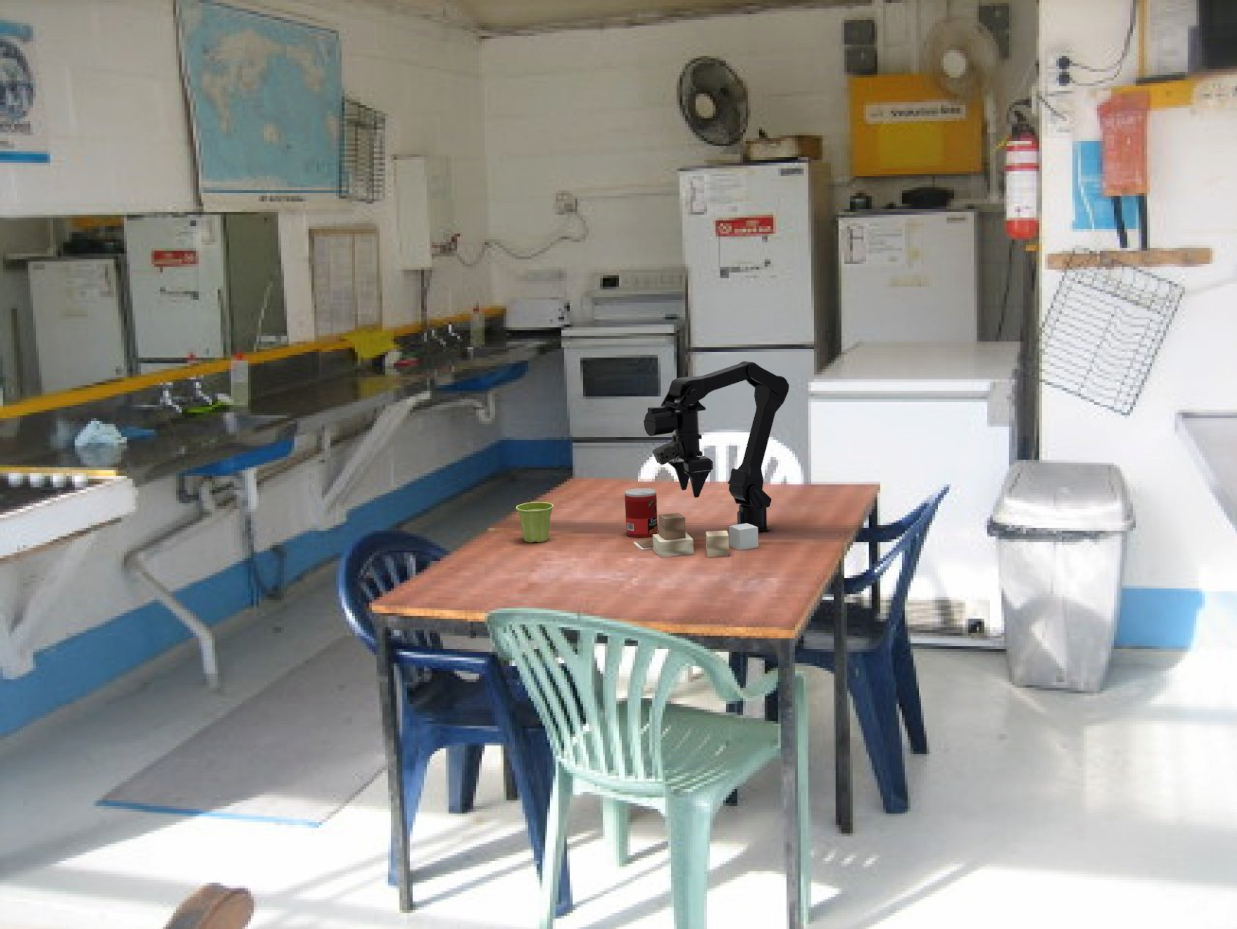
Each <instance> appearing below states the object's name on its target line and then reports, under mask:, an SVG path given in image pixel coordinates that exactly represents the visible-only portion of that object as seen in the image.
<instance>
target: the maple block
mask: <svg viewBox="0 0 1237 929" xmlns="http://www.w3.org/2000/svg"><path fill="white" fill-rule="evenodd" d="M705 550H706V552H705V553H706V556H707V558H718V557H721V558H723V557H730V544H729V531H728V530H712V531H706V530H705Z"/></svg>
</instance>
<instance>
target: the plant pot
mask: <svg viewBox="0 0 1237 929" xmlns="http://www.w3.org/2000/svg"><path fill="white" fill-rule="evenodd" d="M554 507H555V506H554V504H553V503H550V502H545V501H544V502H543V501H534V502H524V503H521V504H518V505H516V507H515V510H516V511H517V513H518V516H519V519H520V523H521V524H520V526H521V530H522V536H523V540H524V541H525V542H527V543H534V542H537V543H543V542H546V541H548V540H549V538H550V525H551V524H550V523H551V514H552V512H553V508H554Z"/></svg>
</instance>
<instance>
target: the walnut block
mask: <svg viewBox="0 0 1237 929" xmlns="http://www.w3.org/2000/svg"><path fill="white" fill-rule="evenodd" d="M686 533H687V532H686V516H684V515H682V514H681V513H680V512H674V513H673V512H672V513H664V514H663V513H661V514H658V534H659V536H661V537H662V538H664V539H665V540H670V539H680V538H686Z"/></svg>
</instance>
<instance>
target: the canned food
mask: <svg viewBox="0 0 1237 929" xmlns="http://www.w3.org/2000/svg"><path fill="white" fill-rule="evenodd" d="M657 499H658V498H657V491H656V490H655V488H654V489H652V488H648V487H647V488H646V487H643V488H641V487H639V488H632V489H631V488H630V489H627V490H625V492H624V508H625V510H624V512H625V530H626V534H627V536H629V537H633V538H650V537H653V534H658V532H659V523H658V500H657Z"/></svg>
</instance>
